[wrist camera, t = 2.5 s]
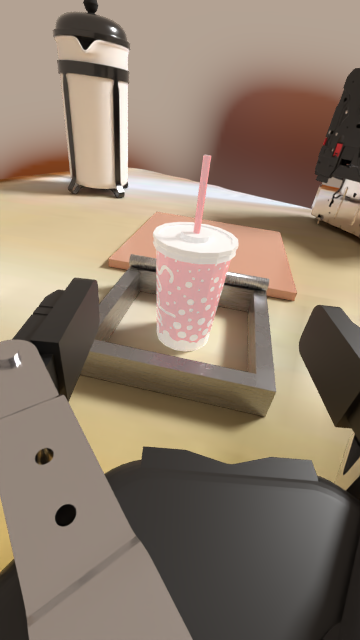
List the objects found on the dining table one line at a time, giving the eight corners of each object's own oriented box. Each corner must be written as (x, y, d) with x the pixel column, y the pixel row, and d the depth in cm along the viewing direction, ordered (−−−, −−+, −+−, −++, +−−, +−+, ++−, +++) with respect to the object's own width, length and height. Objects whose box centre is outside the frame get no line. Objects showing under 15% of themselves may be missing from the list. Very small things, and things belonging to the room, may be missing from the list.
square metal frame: (259, 307, 31) (269, 276, 29) (265, 416, 19) (282, 378, 17) (132, 283, 32) (133, 252, 30) (69, 372, 21) (62, 331, 19)
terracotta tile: (278, 237, 51) (280, 231, 50) (294, 300, 33) (296, 293, 32) (156, 217, 53) (156, 211, 52) (108, 266, 35) (108, 258, 34)
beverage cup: (148, 312, 28) (157, 144, 20) (211, 315, 29) (243, 154, 21) (147, 356, 23) (157, 156, 15) (222, 359, 24) (271, 168, 16)
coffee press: (151, 195, 66) (159, 5, 49) (87, 202, 56) (69, -32, 39) (108, 178, 75) (102, 15, 58) (47, 182, 66) (18, -13, 48)
